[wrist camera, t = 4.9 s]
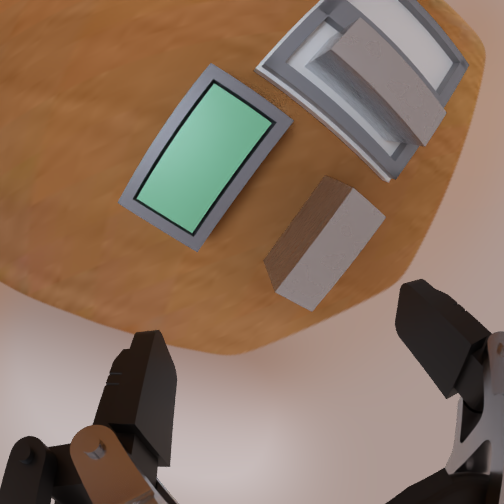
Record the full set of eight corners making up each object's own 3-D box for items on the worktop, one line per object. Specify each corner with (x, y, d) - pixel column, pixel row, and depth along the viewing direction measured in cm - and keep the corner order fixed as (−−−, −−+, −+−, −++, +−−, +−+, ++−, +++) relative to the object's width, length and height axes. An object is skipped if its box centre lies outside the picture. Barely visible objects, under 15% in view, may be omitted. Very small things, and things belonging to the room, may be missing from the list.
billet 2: (263, 259, 28) (274, 291, 23) (324, 174, 25) (353, 187, 20) (294, 278, 29) (311, 311, 24) (354, 198, 27) (386, 217, 21)
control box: (131, 192, 24) (117, 202, 20) (211, 73, 20) (210, 63, 17) (199, 234, 26) (197, 252, 22) (281, 122, 23) (293, 120, 19)
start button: (141, 194, 21) (136, 198, 20) (214, 86, 19) (214, 83, 17) (193, 226, 23) (192, 233, 21) (268, 123, 20) (271, 123, 19)
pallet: (253, 70, 21) (257, 64, 19) (360, -34, 16) (370, -43, 14) (382, 180, 26) (395, 184, 24) (457, 66, 21) (471, 65, 19)
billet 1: (304, 66, 20) (331, 49, 14) (329, 38, 19) (360, 17, 13) (385, 140, 23) (425, 146, 18) (405, 111, 22) (446, 112, 17)
